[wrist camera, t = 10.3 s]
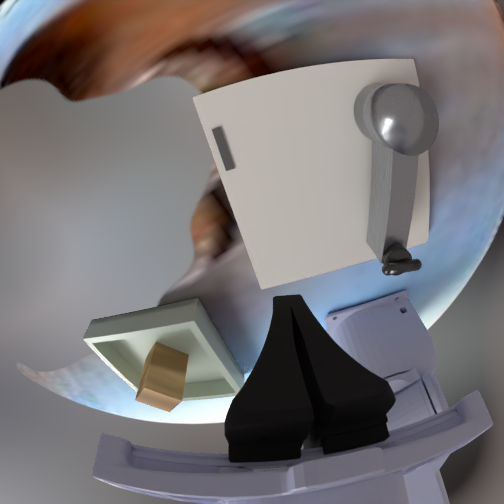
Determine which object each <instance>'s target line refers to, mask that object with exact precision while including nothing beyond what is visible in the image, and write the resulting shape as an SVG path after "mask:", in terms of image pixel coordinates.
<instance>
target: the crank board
mask: <svg viewBox="0 0 504 504" xmlns="http://www.w3.org/2000/svg"><path fill="white" fill-rule="evenodd" d="M379 83H404V84H412V85H415V86H418V87H420V86H419V81H418V76H417V72H416V68H415V63H414V59H373V60H357V61H346V62H337V63H329V64H321V65H314V66H308V67H302V68H297V69H292V70H287V71H282V72H277V73H273V74H268V75H264V76H260V77H256V78H252V79H249V80H245V81H241V82H238V83H234V84H231V85H228V86H225V87H221V88H218V89H215V90H212V91H209V92H206V93H204V94H201V95H198V96H195V97H193V101H194V104H195V107H196V109H197V112H198V114H199V118H200V120H201V123H202V126H203V129H204V132H205V134H206V137H207V140H208V143H209V146H210V149H211V151H212V154H213V157H214V160H215V163H216V165H217V168H218V171H219V174H220V177H221V179H222V182H223V185H224V188H225V190H226V193H227V196H228V199H229V202H230V204H231V207H232V210H233V213H234V215H235V218H236V221H237V224H238V226H239V229H240V232H241V235H242V238H243V240H244V243H245V246H246V249H247V251H248V254H249V257H250V260H251V262H252V265H253V268H254V271H255V273H256V276H257V279H258V282H259V284H260V287H261V290H262V289H266V288H270V287H274V286H278V285H282V284H286V283H289V282H293V281H297V280H301V279H305V278H308V277H312V276H316V275H319V274H323V273H327V272H330V271H334V270H337V269H341V268H344V267H348V266H351V265H355V264H358V263H362V262H365V261H368V260H372V259H375V258H377V257H376V255H375V254H374V252H373V251H372V249H371V248H370V247H369V245H368V244H367V242H366V238H367V229H368V218H369V205H370V190H371V166H372V141H371V140H369V139H368V138H367V137H365V136H364V135H363V134H362V133H361V131H360V130H359V128H358V126H357V124H356V122H355V118H354V103H355V100H356V97H357V95H358V94H359V93H360V91H361V90H362V89H363V88H365V87H366V86H368V85H371V84H379ZM429 211H430V177H429V156H428V150H426V151H425V152H424V153H422V154H419V157H418V171H417V182H416V191H415V199H414V207H413V213H412V220H411V226H410V232H409V237H408V242H407V248H406V249H408V248H411V247H414V246H417V245H420V244H423V243H426V242H428V232H429Z"/></svg>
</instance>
